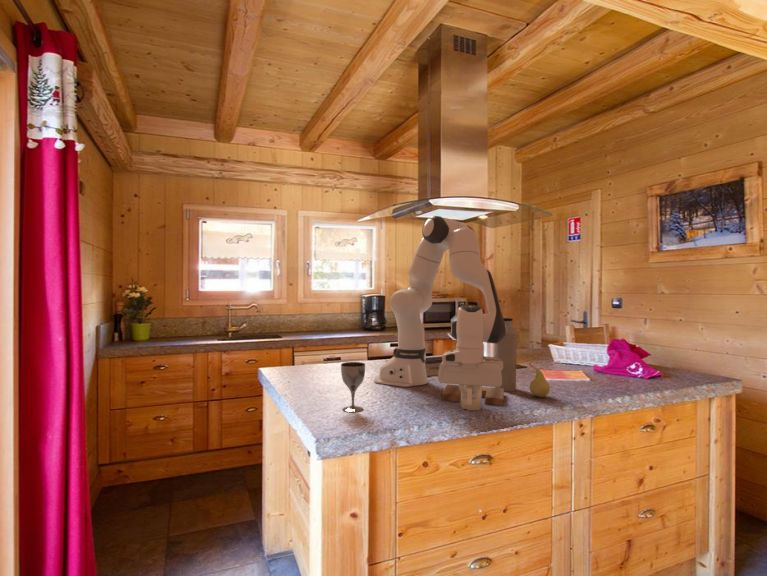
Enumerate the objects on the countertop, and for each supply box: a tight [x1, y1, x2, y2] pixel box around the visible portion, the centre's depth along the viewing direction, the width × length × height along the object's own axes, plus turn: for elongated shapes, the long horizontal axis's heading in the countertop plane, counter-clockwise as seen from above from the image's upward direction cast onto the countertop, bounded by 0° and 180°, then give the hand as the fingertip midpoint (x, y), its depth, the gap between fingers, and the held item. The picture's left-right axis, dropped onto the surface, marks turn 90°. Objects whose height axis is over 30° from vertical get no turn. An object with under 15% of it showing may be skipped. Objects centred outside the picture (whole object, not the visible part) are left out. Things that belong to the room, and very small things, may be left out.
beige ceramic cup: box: [460, 385, 483, 411], centre depth 147 cm, size 11×7×9 cm, turn 164°
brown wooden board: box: [441, 383, 505, 406], centre depth 160 cm, size 21×14×2 cm, turn 74°
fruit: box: [529, 363, 551, 398], centre depth 162 cm, size 7×8×12 cm
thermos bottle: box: [494, 317, 518, 393], centre depth 173 cm, size 8×8×28 cm
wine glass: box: [340, 361, 366, 414], centre depth 145 cm, size 8×8×15 cm
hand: (469, 398), depth 142 cm, fingers closed on beige ceramic cup
